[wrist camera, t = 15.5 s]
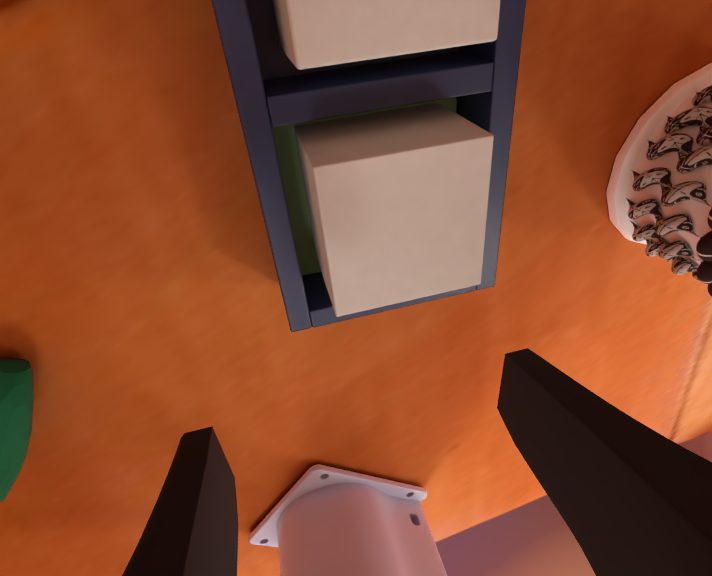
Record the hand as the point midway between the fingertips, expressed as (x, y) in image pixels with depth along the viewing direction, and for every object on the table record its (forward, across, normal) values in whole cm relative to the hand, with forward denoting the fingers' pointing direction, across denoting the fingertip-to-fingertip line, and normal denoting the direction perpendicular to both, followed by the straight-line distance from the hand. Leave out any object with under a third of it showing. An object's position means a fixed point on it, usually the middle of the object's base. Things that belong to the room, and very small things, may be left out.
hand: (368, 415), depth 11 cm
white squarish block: (+8, -2, -2) cm, 9 cm away
